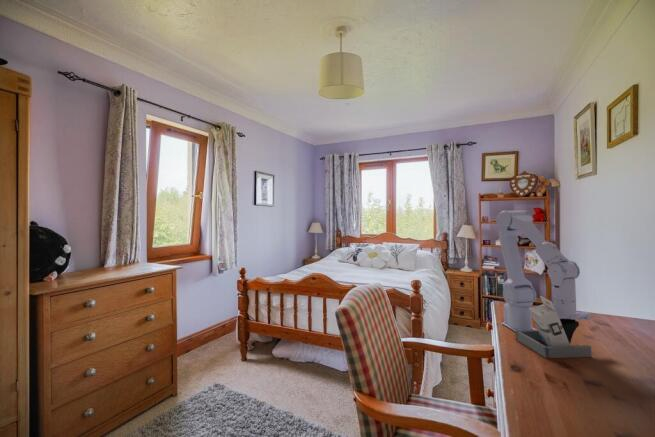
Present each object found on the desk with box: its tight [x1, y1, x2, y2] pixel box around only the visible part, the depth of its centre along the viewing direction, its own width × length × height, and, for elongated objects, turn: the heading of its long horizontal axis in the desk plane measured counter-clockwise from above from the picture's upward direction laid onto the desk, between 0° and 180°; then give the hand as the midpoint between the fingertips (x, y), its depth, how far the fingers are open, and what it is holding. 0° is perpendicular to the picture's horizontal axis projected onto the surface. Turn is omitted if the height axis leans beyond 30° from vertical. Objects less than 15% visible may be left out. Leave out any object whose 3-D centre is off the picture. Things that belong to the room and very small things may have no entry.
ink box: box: [529, 295, 571, 346], centre depth 97 cm, size 9×5×15 cm, turn 167°
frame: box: [515, 329, 593, 359], centre depth 96 cm, size 14×14×3 cm
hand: (566, 342), depth 96 cm, fingers closed
